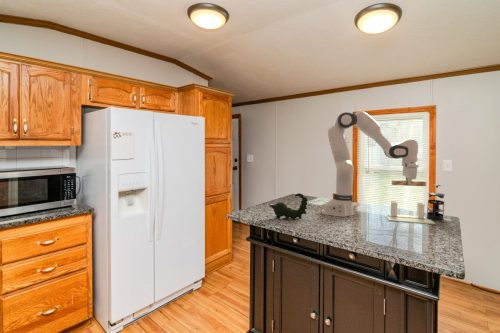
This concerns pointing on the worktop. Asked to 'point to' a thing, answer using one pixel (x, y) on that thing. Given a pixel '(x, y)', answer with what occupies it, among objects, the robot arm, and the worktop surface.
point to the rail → (405, 183)
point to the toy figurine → (283, 210)
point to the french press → (435, 207)
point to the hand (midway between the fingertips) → (408, 184)
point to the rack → (419, 215)
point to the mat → (410, 220)
